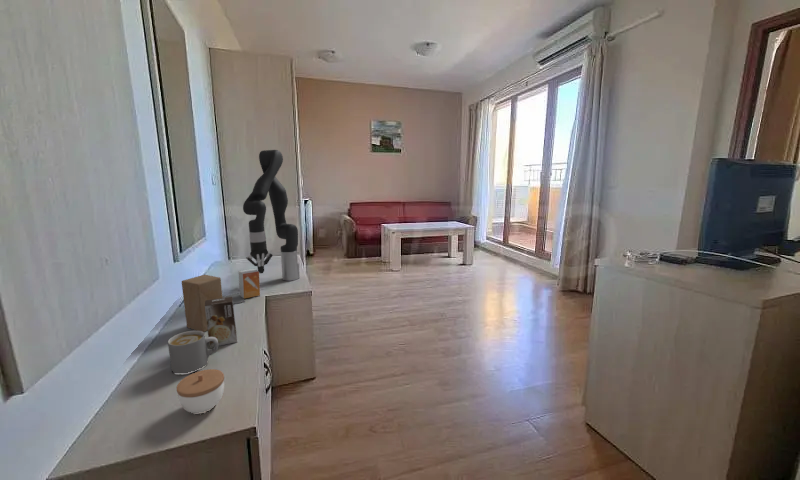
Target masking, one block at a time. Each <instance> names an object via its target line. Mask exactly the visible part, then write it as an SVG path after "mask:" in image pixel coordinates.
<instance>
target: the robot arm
mask: <svg viewBox="0 0 800 480" xmlns="http://www.w3.org/2000/svg"><path fill="white" fill-rule="evenodd" d="M258 160H259V164H260V167H261V170H262V174H261V176H260V177H258V179H257V180H256V181H255V184H254V186H253V188H252V191H251V193H250V194H249V195H248V197H247V198H246V199H245V201H244V202H243V205H242V210H243V212H244V214H246V215H248V216H255V219H254V218H253V219H251V220H249V221H248V230H249V235H248V236H249V245H250V253H249V255H248V256H247V257H245V258H246V260H247V261H248V262H250V264H252V266H254V267H257V271H259V275H260V274H264V272H265V265H268V263H269V262H270V260H271V258H273V256H274V255H273V253H271V252H269V250H268V248H267V237H266V232H265V217H266V214H267V213H266V212H267V205H266V203H265V202H264V200H266V199H267V196H268V195H269V196H268V197H269V201H270V203H271V207H272V212H273V218H274V224H275V232H276V235H277V238H279V239H281V240H285V244H283V245H281V246H280V260H281V261H280V262H281V263H280V264H281V277H282V280H283V281H286V282H287V281H295V280H298V279H301V278H300V277H301V276H300V263H299V262H298V260H299V259H298V245H299V231H298V227H297V226H296V225H295V224H292V223H287V221H286V210H287V207H288V204H289V198H288V195H287V190H286V189H285V187H284V185H283V184H282V183H281V181H279V180H278V178H277V177H276V176H277V174H278V172H279V171H280V168H282V165H283V162H284V156H283V154H282V152H281V151H280V150H278V149H268V150H266V149H265V150H261V151H260V152H259V153H258ZM253 259H254V260H255V261H254V260H253Z"/></svg>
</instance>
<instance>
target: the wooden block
mask: <svg viewBox="0 0 800 480" xmlns="http://www.w3.org/2000/svg"><path fill="white" fill-rule="evenodd" d="M181 290H182V296H183V305H184V312H185V313H184V314H185V322H186V328H187V327H188V329H190V328H191V329H190V330H193V329H194V330H193V331H196V330H197V331H202V332H204V333H205V332H208V329H207V321H206V313H205V300H212V299H219V298H223V297H222V296H223V290H222V279H221V277H219V276H215V275H214V276H213V275H208V274H202V275H197V276H195V277H191V278H187V279H184V280H181Z"/></svg>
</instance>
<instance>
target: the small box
mask: <svg viewBox="0 0 800 480" xmlns="http://www.w3.org/2000/svg"><path fill="white" fill-rule="evenodd" d="M238 285H239V286H238V287H239V295H240V296H241V297H242V298H243V299H244V300H245V299H249V298H254V297H260V295H261V285H260V273H259V271H258V269H256V268H251V269H245V270H240V271H238Z"/></svg>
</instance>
